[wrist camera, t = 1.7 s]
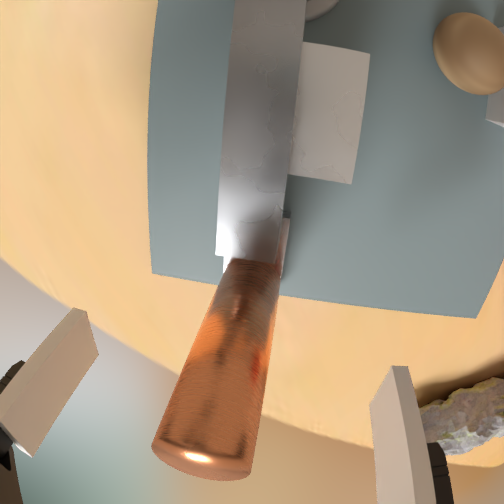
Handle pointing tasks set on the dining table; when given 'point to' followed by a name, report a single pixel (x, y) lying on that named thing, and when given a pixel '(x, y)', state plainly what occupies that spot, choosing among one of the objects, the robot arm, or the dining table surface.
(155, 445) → the lever
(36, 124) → the dining table surface
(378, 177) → the board
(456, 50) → the light brown ball
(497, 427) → the mineral specimen
